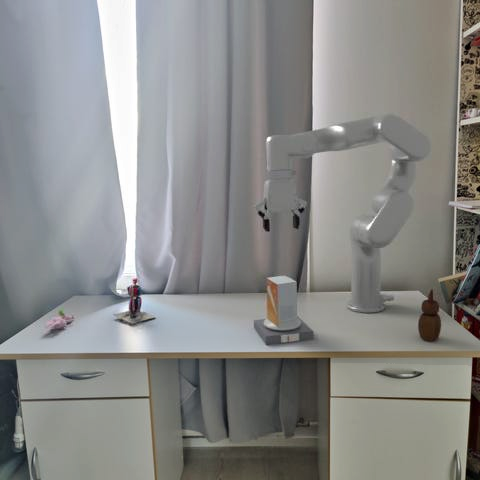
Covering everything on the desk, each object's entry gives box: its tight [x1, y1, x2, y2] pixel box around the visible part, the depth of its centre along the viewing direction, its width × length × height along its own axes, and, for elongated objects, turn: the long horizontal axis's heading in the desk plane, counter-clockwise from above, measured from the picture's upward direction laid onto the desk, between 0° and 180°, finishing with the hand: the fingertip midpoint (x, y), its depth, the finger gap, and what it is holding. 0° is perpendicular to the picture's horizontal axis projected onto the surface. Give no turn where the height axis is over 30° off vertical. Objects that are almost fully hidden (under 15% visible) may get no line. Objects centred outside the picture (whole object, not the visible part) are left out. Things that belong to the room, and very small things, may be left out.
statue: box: [112, 277, 156, 326], centre depth 162 cm, size 11×9×15 cm
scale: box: [253, 315, 314, 346], centre depth 145 cm, size 14×15×4 cm
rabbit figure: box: [44, 309, 75, 330], centre depth 157 cm, size 6×6×15 cm
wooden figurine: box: [417, 288, 442, 342], centre depth 137 cm, size 7×6×15 cm
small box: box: [266, 275, 298, 328], centre depth 144 cm, size 8×6×13 cm
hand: (281, 229), depth 156 cm, fingers open, 9 cm apart
